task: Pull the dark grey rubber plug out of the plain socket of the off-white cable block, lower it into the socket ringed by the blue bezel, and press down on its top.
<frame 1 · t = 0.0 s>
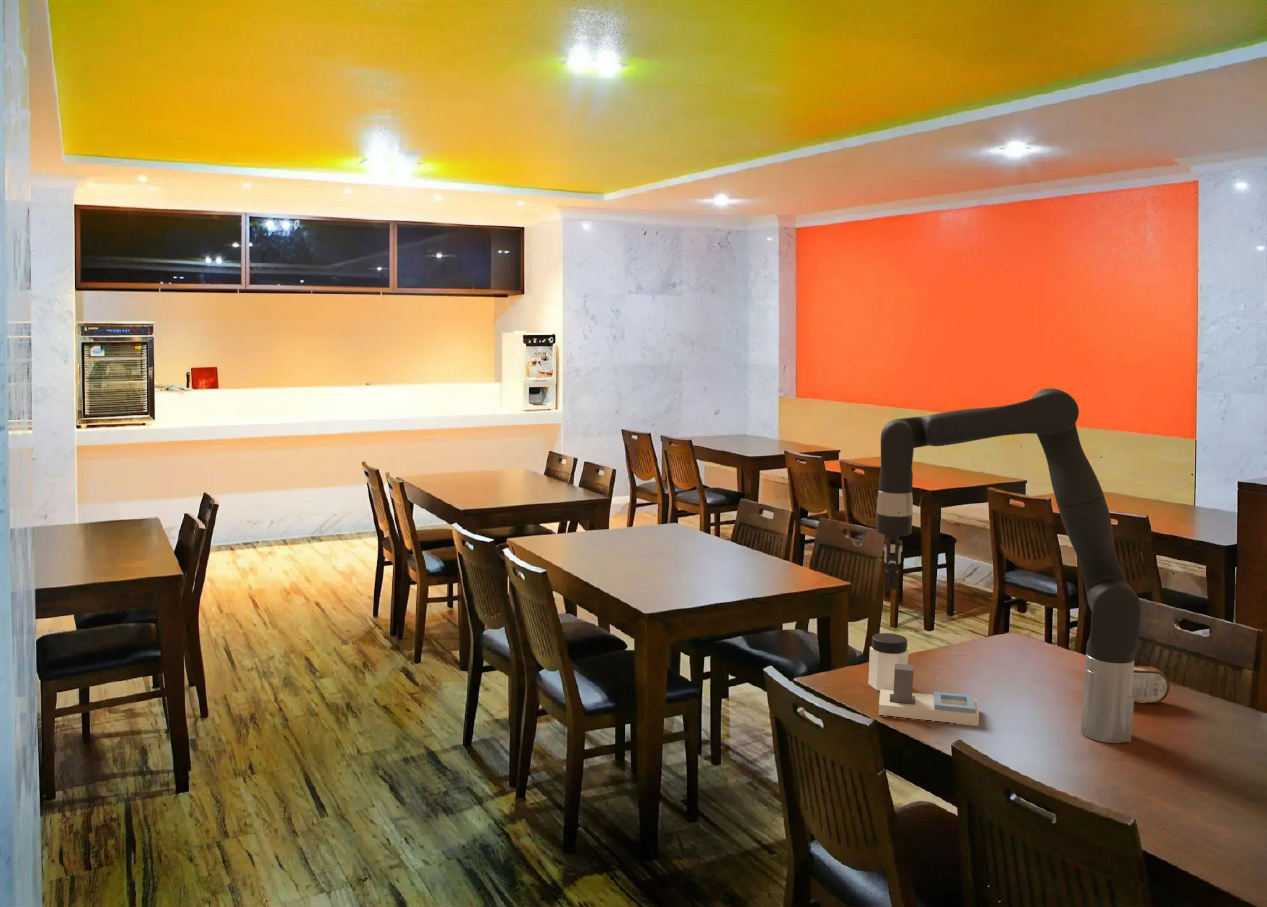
hand: (891, 584, 224), 29 cm above the table, tool pointing down, fingers open, 8 cm apart
tin: (1133, 702, 236), on the table
plug: (902, 709, 230), resting in socket block
socket block: (927, 712, 228), on the table
jar: (887, 687, 244), on the table
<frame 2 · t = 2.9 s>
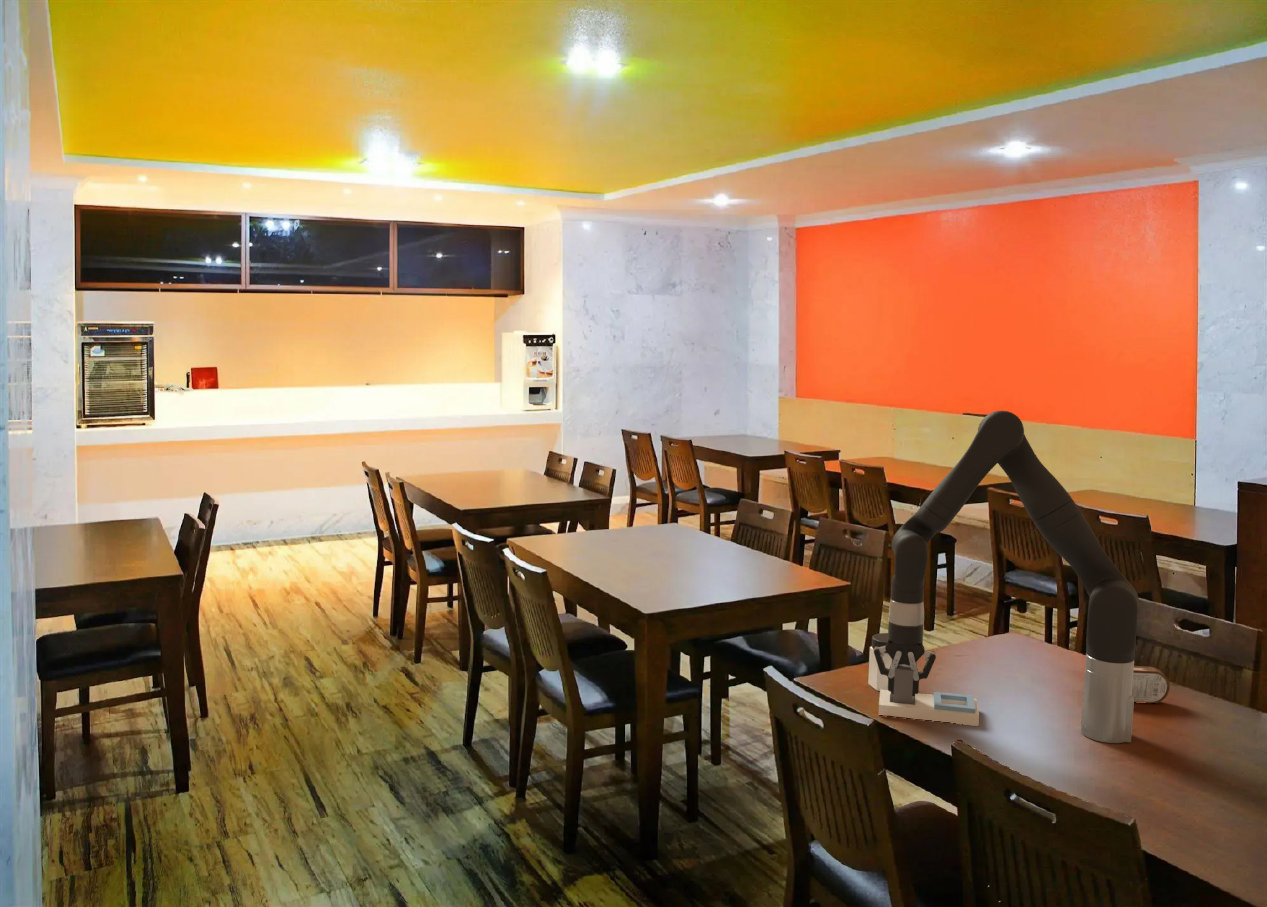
hand: (902, 693, 229), 4 cm above the table, tool pointing down, fingers closed on plug, 4 cm apart
plug: (902, 709, 229), resting in socket block, touching gripper
everything else where it was.
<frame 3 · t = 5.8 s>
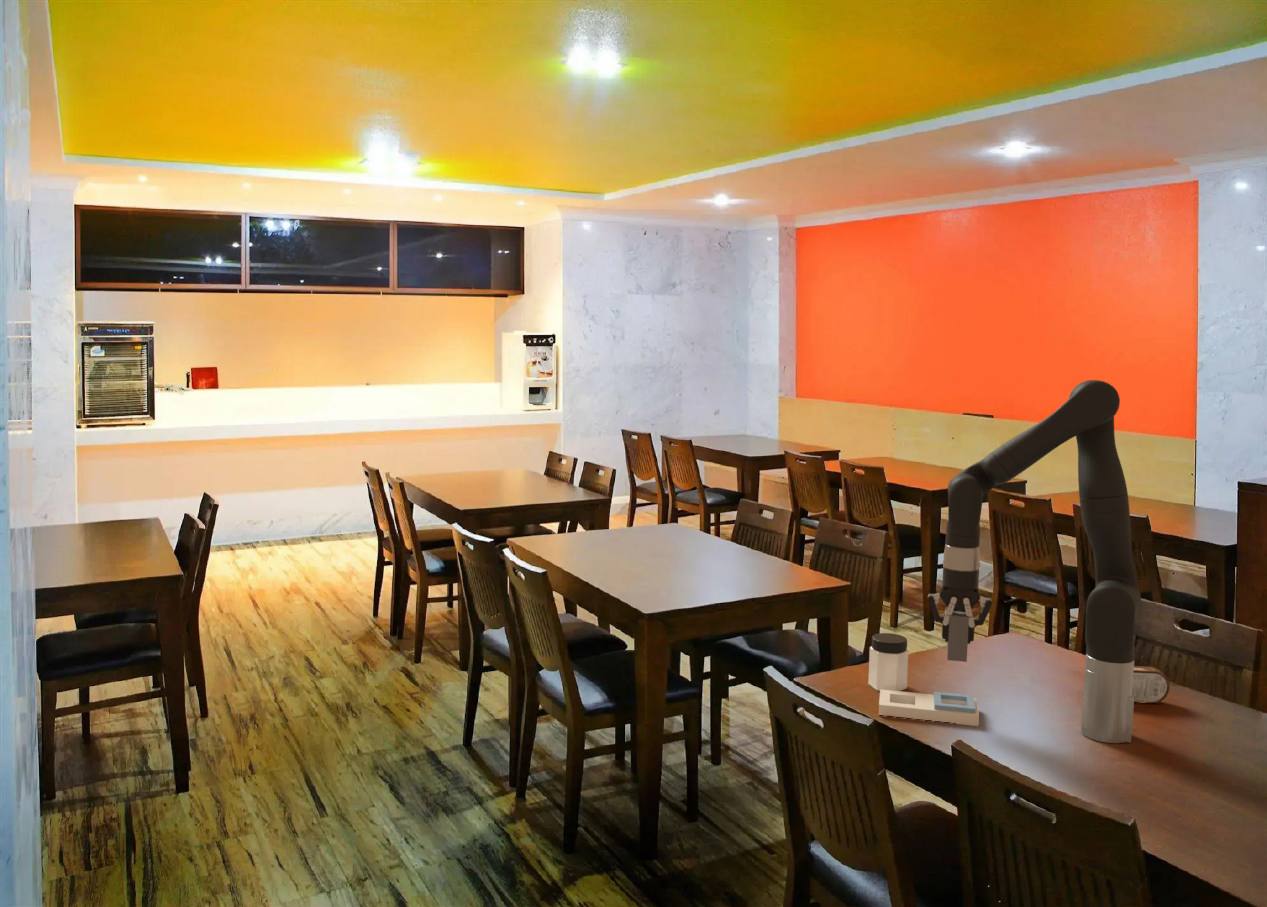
hand: (957, 641, 225), 17 cm above the table, tool pointing down, fingers closed on plug, 4 cm apart
plug: (956, 658, 225), point 13 cm above the table, touching gripper
everything else where it was.
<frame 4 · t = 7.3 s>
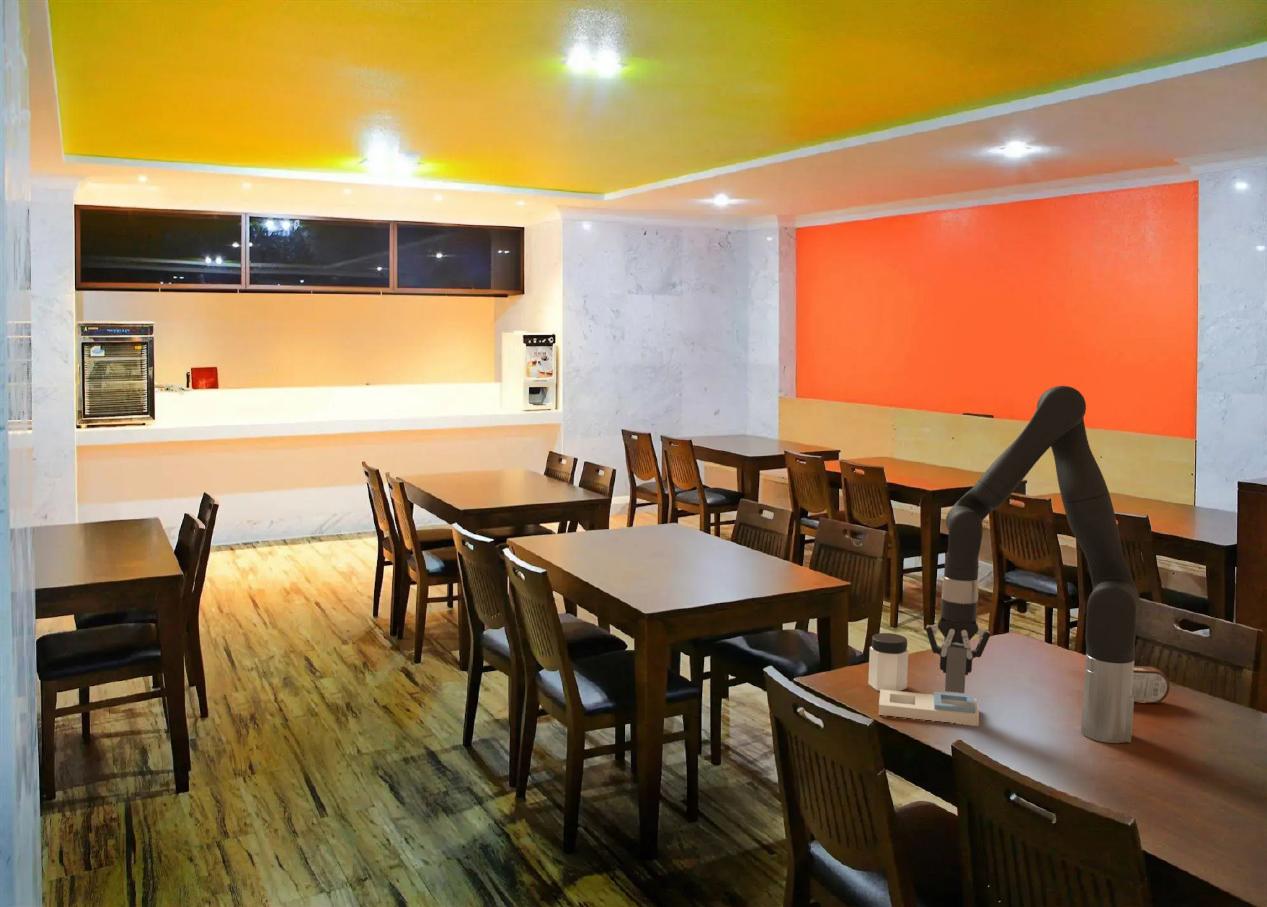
hand: (955, 672, 226), 10 cm above the table, tool pointing down, fingers closed on plug, 4 cm apart
plug: (954, 688, 226), point 6 cm above the table, touching gripper
everything else where it was.
when the fingers open (5 cm above the table, at t = 8.8 s): plug drops 1 cm, resting in socket block.
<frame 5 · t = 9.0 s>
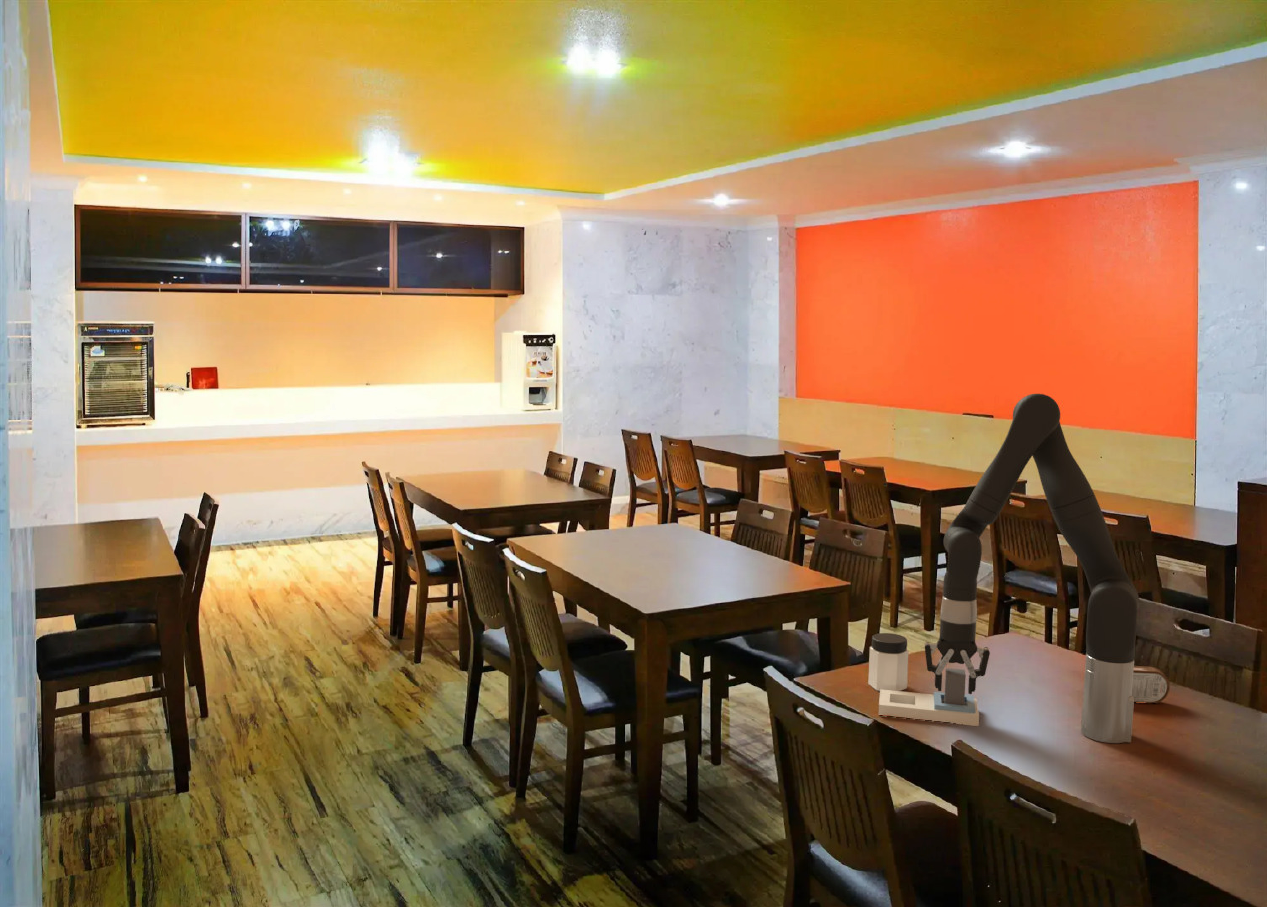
hand: (954, 691, 226), 6 cm above the table, tool pointing down, fingers open, 6 cm apart
plug: (953, 715, 227), resting in socket block
everything else where it was.
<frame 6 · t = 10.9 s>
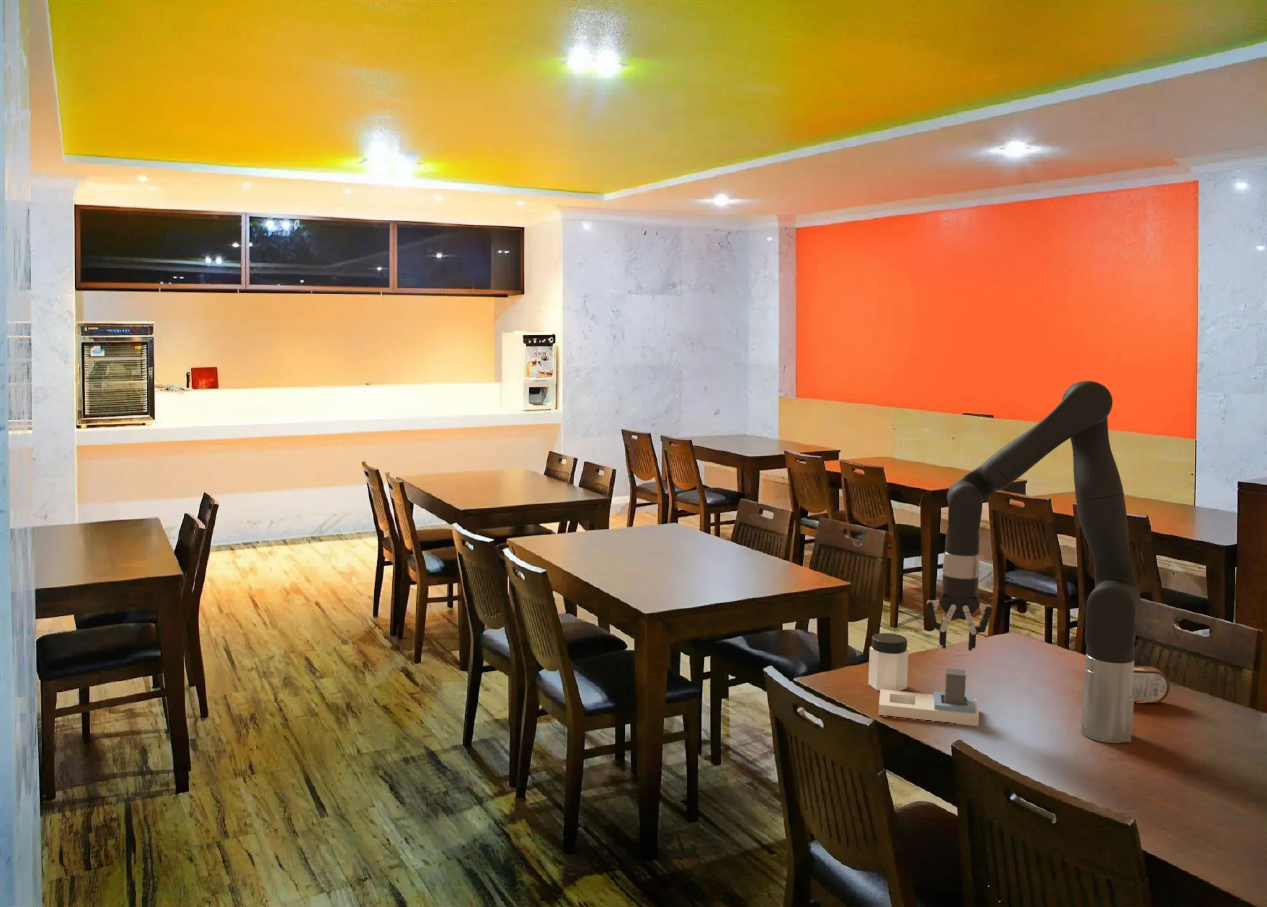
hand: (956, 648, 225), 15 cm above the table, tool pointing down, fingers open, 5 cm apart
nothing on the table moved.
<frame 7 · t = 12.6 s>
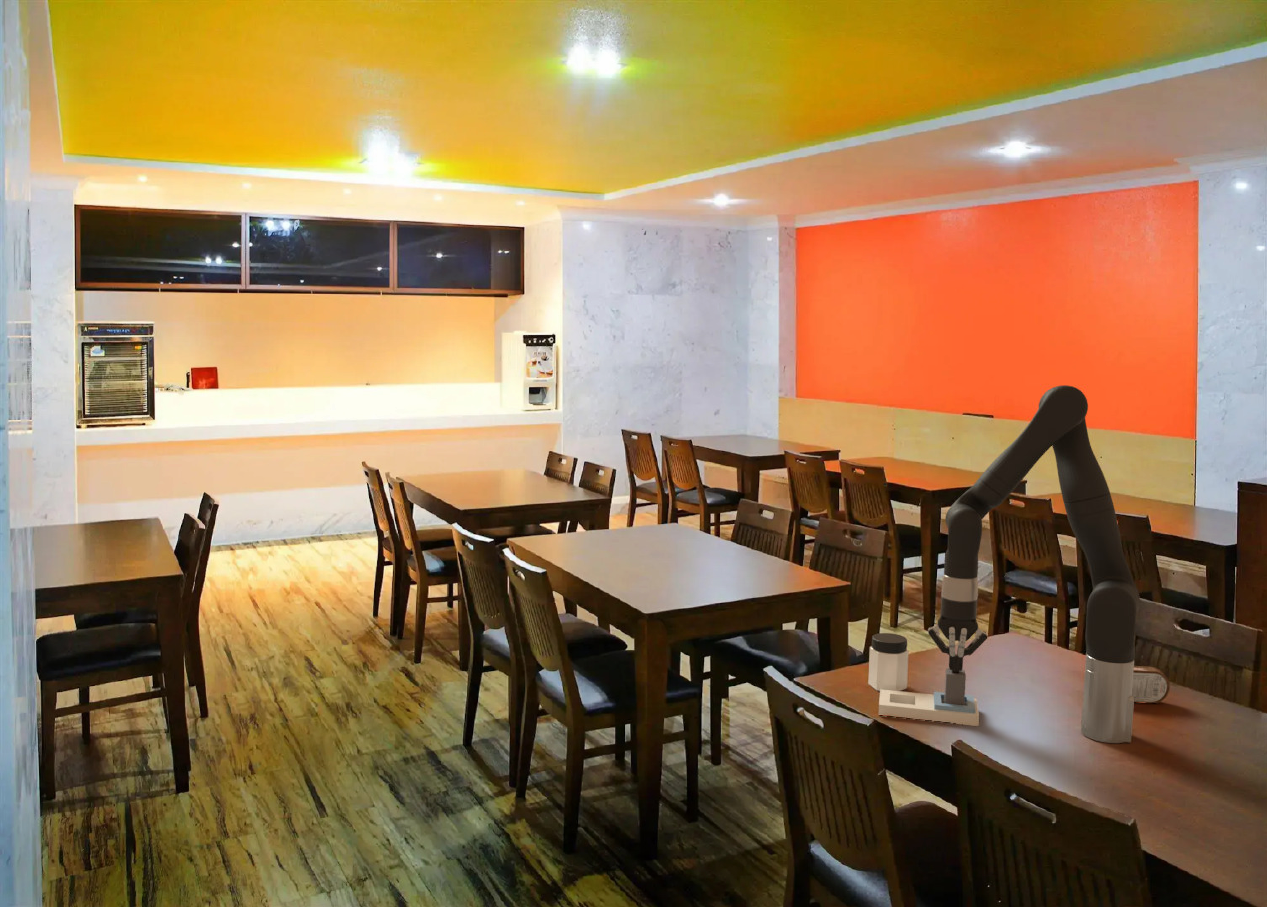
hand: (955, 671, 226), 10 cm above the table, tool pointing down, fingers closed
plug: (953, 715, 227), resting in socket block, touching gripper
everything else where it was.
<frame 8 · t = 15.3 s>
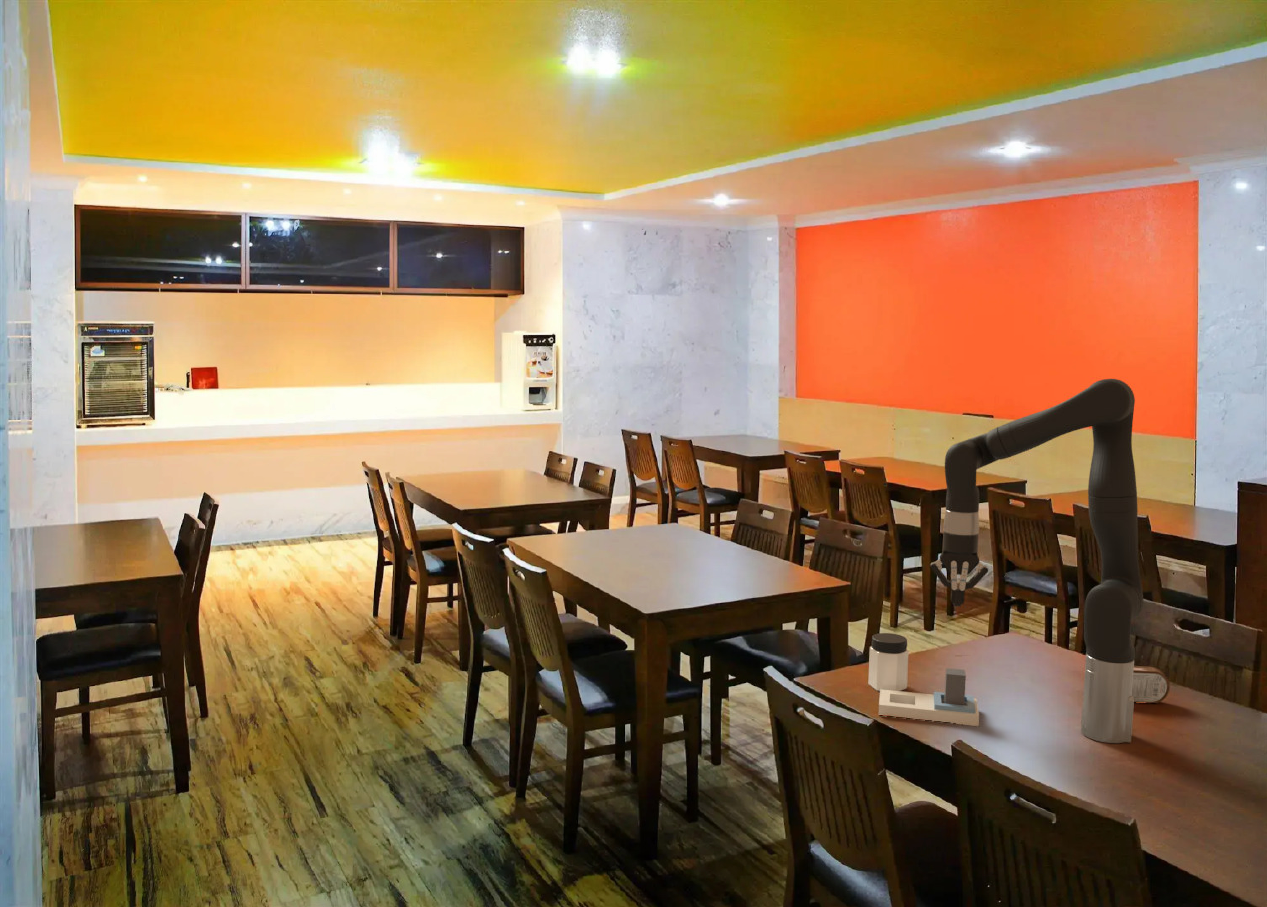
hand: (957, 605, 231), 23 cm above the table, tool pointing down, fingers closed
plug: (953, 715, 227), resting in socket block
everything else where it was.
at the end: plug 0.0 cm from the target spot on the socket block, point 0.0 cm above the socket block's base; plug tilted 0°; the gripper is holding nothing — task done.
